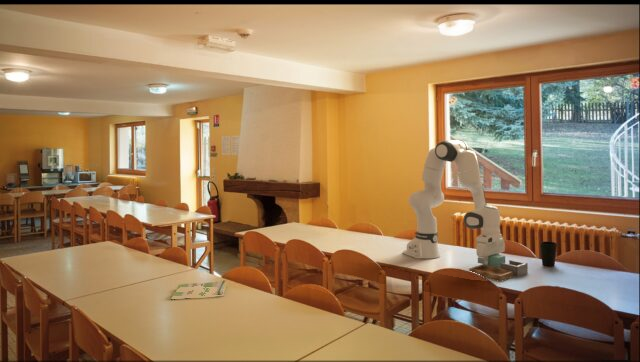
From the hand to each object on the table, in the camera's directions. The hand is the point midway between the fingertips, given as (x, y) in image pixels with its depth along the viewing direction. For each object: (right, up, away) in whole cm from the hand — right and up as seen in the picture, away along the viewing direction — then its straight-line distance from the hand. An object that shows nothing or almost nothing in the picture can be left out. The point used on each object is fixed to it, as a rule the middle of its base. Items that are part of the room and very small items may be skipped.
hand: (491, 262), depth 221 cm
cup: (+30, -2, +1) cm, 30 cm away
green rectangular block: (0, -3, +1) cm, 3 cm away
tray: (-5, -4, -12) cm, 13 cm away
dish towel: (-145, -10, -24) cm, 147 cm away
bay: (+7, -3, -10) cm, 12 cm away
